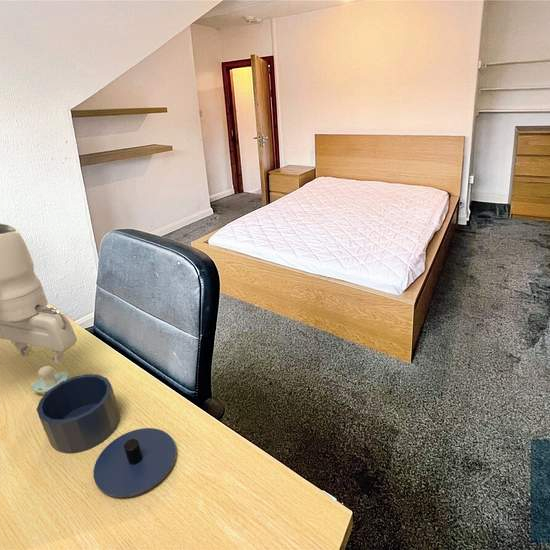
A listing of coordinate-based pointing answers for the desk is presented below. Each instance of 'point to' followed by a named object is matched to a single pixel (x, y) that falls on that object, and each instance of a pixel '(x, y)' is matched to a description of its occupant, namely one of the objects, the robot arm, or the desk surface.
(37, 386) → the pacifier
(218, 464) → the desk surface
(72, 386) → the pot
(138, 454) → the lid
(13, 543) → the desk surface
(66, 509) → the desk surface
